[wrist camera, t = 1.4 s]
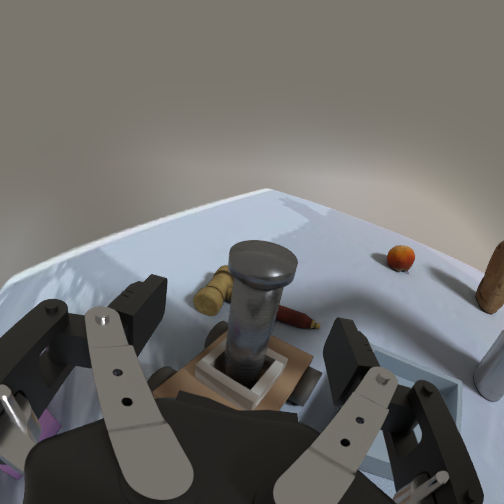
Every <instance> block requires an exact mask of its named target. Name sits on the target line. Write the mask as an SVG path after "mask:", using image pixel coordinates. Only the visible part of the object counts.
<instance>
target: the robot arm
mask: <svg viewBox="0 0 504 504" xmlns="http://www.w3.org/2000/svg"><path fill="white" fill-rule="evenodd" d="M166 293H167V278H164V277H161V276H157V275H153V274H151V275H150V276H149V277H148V278H147V279H146V280H145V281H144V282H140V281H138V282H135V283H133V284H130V285H129V286H128V287H127V288H126V289H125V291H123V292H122V293H121V294H120V295H119V296H118V297H117V298H116V299H115V300H114V301H112V302H111V303H110V304H109V305H108V306H107V307H95V308H92V309H90V310H89V311H87V312H86V314H85V315H77V314H71V313H68V307H67V304H66V303H65V302H63V301H61V300H58V299H48V300H44V301H42V302H41V303H39V304H38V305H37V306H36V307H35V308H33V309H32V310H31V311H30V312H29V313H27V314H26V315H25V316H24V317H23V318H22V319H21V320H19V321H18V322H17V323H16V324H15V325H14V326H13V327H12V328H11V329H9V330H8V331H7V332H6V333H5V334H4V335H3V336H2V337H1V338H0V464H1V465H8V466H10V467H11V468H12V469H14V470H15V471H17V472H18V473H19V474H21V475H22V476H24V479H25V492H24V500H23V504H482V503H483V499H484V494H483V490H482V487H481V484H480V482H479V479H478V476H477V473H476V471H475V468H474V466H473V463H472V461H471V458H470V456H469V453H468V451H467V449H466V446H465V444H464V442H463V439H462V437H461V435H460V433H459V431H458V428H457V426H456V424H455V422H454V420H453V418H452V416H451V414H450V412H449V410H448V408H447V406H446V404H445V402H444V400H443V398H442V396H441V394H440V392H439V390H438V389H437V387H436V386H435V385H433V384H432V383H430V382H429V381H426V380H418V381H416V382H415V384H414V385H413V386H412V388H410V387H406V386H403V385H399V384H398V380H397V377H396V376H395V375H394V374H393V373H392V372H391V371H389V370H388V369H386V368H383V367H380V365H379V362H378V360H377V358H376V356H375V354H374V352H373V350H372V348H371V346H370V344H369V341H368V339H367V338H366V337H365V336H364V335H363V334H362V333H361V332H360V331H358V330H357V328H356V326H355V324H354V322H353V320H350V319H344V318H339V317H338V318H336V320H335V321H334V324H333V326H332V328H331V331H330V333H329V335H328V338H327V340H326V342H325V345H324V349H323V358H324V362H325V366H326V370H327V375H328V379H329V383H330V388H331V392H332V397H333V402H334V405H337V406H343V407H342V408H341V410H340V411H339V412H338V413H337V415H336V416H335V417H334V419H333V420H332V421H331V422H330V424H329V425H328V426H327V427H326V428H325V430H324V431H323V432H322V433H321V434H320V433H319V432H318V431H316V430H315V429H313V428H311V427H309V426H307V425H305V424H303V423H300V422H298V417H297V413H290V412H282V411H275V410H236V409H233V408H231V407H229V406H226V405H224V404H222V403H219V402H217V401H215V400H212V399H210V398H208V397H204V396H200V395H196V394H192V393H188V392H185V391H181V390H179V392H178V395H177V397H176V398H172V397H164V398H156V399H154V398H153V395H152V393H151V391H150V389H149V386H148V384H147V381H146V379H145V376H144V374H143V371H142V369H141V366H140V364H139V361H138V358H137V357H138V356H139V354H140V352H141V351H142V349H143V348H144V346H145V345H146V343H147V341H148V340H149V338H150V337H151V335H152V334H153V332H154V331H155V329H156V327H157V326H158V324H159V323H160V321H161V320H162V318H163V315H164V311H165V304H166ZM45 348H46V350H45V351H44V352H43V354H42V355H41V356H40V354H41V352H42V351H43V350H44V349H45ZM39 356H40V357H39ZM75 366H80V367H86V368H92V369H93V374H94V379H95V384H96V389H97V393H98V397H99V401H100V405H101V409H102V413H103V416H104V418H103V419H100V420H98V421H95V422H92V423H90V424H87V425H84V426H81V427H78V428H76V429H73V430H70V431H67V432H64V433H61V434H58V435H55V436H51V437H48V438H46V439H43V440H41V441H40V442H39V438H40V435H41V425H40V422H39V418H40V417H41V415H42V414H43V412H44V410H45V409H46V407H47V406H48V404H49V403H50V401H51V400H52V398H53V397H54V395H55V394H56V392H57V391H58V389H59V388H60V386H61V385H62V384H63V382H64V381H65V379H66V378H67V376H68V375H69V374H70V372H71V371H72V369H73V368H74V367H75ZM474 382H475V385H476V387H477V389H478V391H479V392H480V393H481V394H482V395H483V396H484V397H485V398H486V399H488V400H490V401H498V400H500V399H501V398H502V397H503V396H504V330H503V331H502V332H501V333H500V335H499V336H498V338H497V339H496V341H495V342H494V344H493V345H492V347H491V348H490V349H489V351H488V352H487V353H486V355H485V356H484V357H483V359H482V360H481V361H480V363H479V364H478V368H477V369H476V370H475V372H474ZM418 424H419V426H420V429H421V432H422V437H421V440H420V442H419V444H418V441H417V438H416V435H415V433H414V430H413V429H414V428H415V427H416V426H417V425H418ZM379 430H382V432H383V436H384V440H385V444H386V448H387V452H388V456H389V461H390V465H391V470H392V474H393V479H394V484H395V489H396V494H395V495H394V497H393V499H391V498H390V497H389V496H388V495H387V494H385V493H384V492H383V491H382V490H381V489H380V488H378V487H377V486H376V485H375V484H374V483H373V482H372V481H370V480H369V479H368V478H367V477H366V476H365V475H364V474H363V473H362V472H360V471H359V470H358V468H359V466H360V465H361V463H362V461H363V460H364V458H365V456H366V454H367V453H368V451H369V449H370V447H371V446H372V444H373V442H374V440H375V438H376V436H377V434H378V432H379Z"/></svg>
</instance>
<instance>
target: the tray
mask: <svg viewBox="0 0 504 504" xmlns="http://www.w3.org/2000/svg"><path fill="white" fill-rule="evenodd" d="M370 346H371V348H372V350H373V352H374V354H375V356H376V358H377V360H378V362H379V365H380V367H383V368H386V369H388V370H389V371H391V372H392V373H393V374H394V375H395V376H396V377H397V380H398V384H399V385H403V386H406V387H410V388H412V386H413V385H414V384H415V382H416V381H418V380H426V381H429V382H430V383H432V384H433V385H435V386H436V387H437V389H438V390H439V392H440V394H441V396H442V398H443V400H444V402H445V404H446V406H447V408H448V410H449V412H450V414H451V416H452V418H453V420H454V422H455V424H456V426H457V428H458V431H459V433H460V432H461V418H462V381H460V380H458V379H455V378H453V377H450V376H448V375H445V374H443V373H440V372H438V371H435V370H433V369H430V368H428V367H425V366H423V365H420V364H418V363H416V362H413V361H411V360H408V359H406V358H404V357H401V356H399V355H396V354H394V353H392V352H389V351H387V350H385V349H382V348H380V347H378V346H376V345H373V344H371V343H370ZM342 407H343V406H340V408H339V410H338V412H339V411H340V410H341V408H342ZM413 430H414V433H415V435H416V438H417V441H418V444H419V442H420V440H421V437H422V432H421V429H420V426H419V424H418V425H417V426H416V427H415V428H414V429H413ZM358 469H359V470H362V471H365V472H368V473H371V474H374V475H377V476H380V477H383V478H386V479H389V480H393V481H394V479H393V474H392V470H391V465H390V461H389V456H388V452H387V448H386V444H385V440H384V436H383V432H382V430H379V432H378V434H377V436H376V438H375V440H374V442H373V444H372V446H371V447H370V449H369V451H368V453H367V454H366V456H365V458H364V460H363V461H362V463H361V465H360V466H359V468H358Z"/></svg>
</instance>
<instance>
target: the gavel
mask: <svg viewBox="0 0 504 504" xmlns="http://www.w3.org/2000/svg"><path fill="white" fill-rule="evenodd" d="M233 283H234V277H233V276H232V275H231V274H230V272H229V270H228V266H227V265H225V266H221V267H220V268H219V269H218V270H217V271H216V272H215V274H214V276H213V278H212V280H211V281H210V282H209V283H208V284H207V285H206V286H205V287H204V288H202V289H200V290H199V292H198V293H197V294H196V295H195V296H194V299H193V303H194V306H195V308H196V309H197V310H198V311H199V312H200V313H202V314H205V315H208V316H215V315H216V314H217V313H218V312H219V310H220V309H221V307H222V305H223V301H224V300H225V299H226V300H228V301H229V300H230V301H231V299H232V291H233ZM276 320H279V321H281V322H284V323H287V324H290V325H293V326H296V327H299V328H310V329H312V328H313V327H315V328H316V329H319V328H320V324H319V323H315V321H314V320H312V319H311V318H310V317H309V316H307V315H306V314H304V313H301V312H298V311H295V310H292V309H290V308H287V307H284V306H281V305H279V307H278V311H277V315H276Z"/></svg>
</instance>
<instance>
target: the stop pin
mask: <svg viewBox="0 0 504 504" xmlns="http://www.w3.org/2000/svg"><path fill="white" fill-rule="evenodd" d="M297 264H298V261H297V258H296V256H295V255H294V254H293V253H292V252H291V251H290V250H288V249H287V248H285V247H283V246H280V245H278V244H275V243H271V242H267V241H260V240H249V241H243V242H239V243H237V244H235V245H234V246H232V247H231V249H230V253H229V262H228V270H229V272H230V274H231V275H232V276H233V277H234V283H233V291H232V299H231V307H230V315H229V323H228V331H227V339H226V348H225V356H224V365H223V374H224V375H226V376H228V377H229V378H231V379H232V380H234V381H236V382H237V383H239V384H241V385H242V386H244V387H246V388H247V389H249V390H250V389H252V388H253V387H254V386H255V384H256V383H257V382H258V380H259V377H260V373H261V370H262V366H263V363H264V359H265V356H266V352H267V349H268V345H269V341H270V338H271V334H272V330H273V326H274V323H275V319H276V315H277V311H278V307H279V303H280V300H281V296H282V292H283V288H284V287H285V286H287V285H289V284H290V283H291V282H292V281H293V279H294V276H295V272H296V268H297Z"/></svg>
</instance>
